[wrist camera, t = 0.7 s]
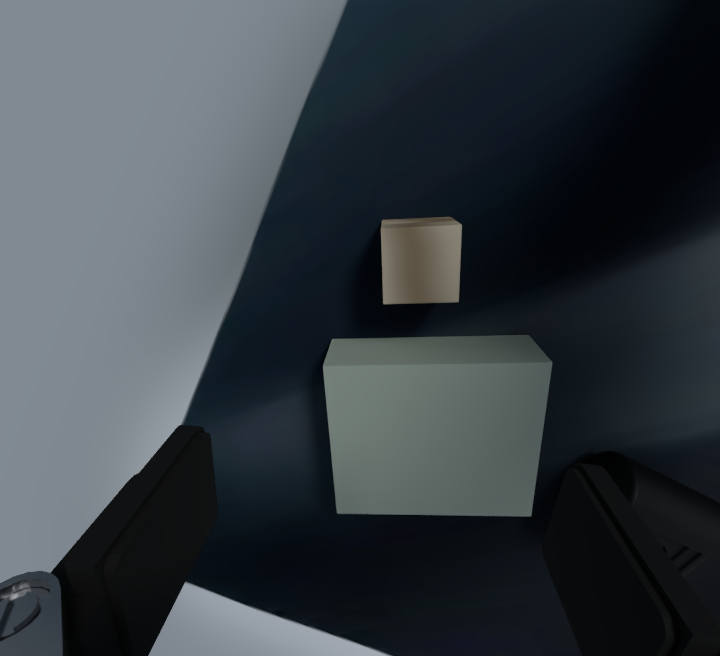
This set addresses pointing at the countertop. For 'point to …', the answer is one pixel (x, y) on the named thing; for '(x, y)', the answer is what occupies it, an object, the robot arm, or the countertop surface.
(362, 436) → the sage stand
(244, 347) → the countertop surface
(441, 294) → the maple cube
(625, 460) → the end cap
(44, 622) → the robot arm
